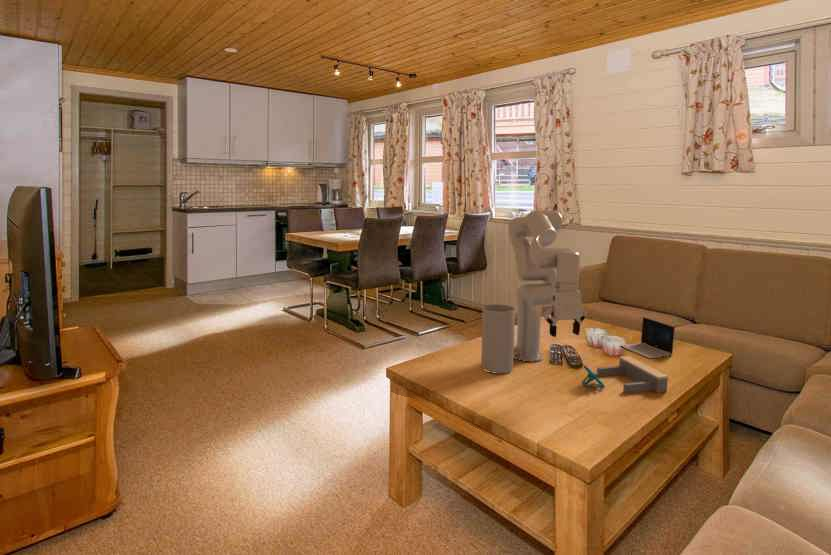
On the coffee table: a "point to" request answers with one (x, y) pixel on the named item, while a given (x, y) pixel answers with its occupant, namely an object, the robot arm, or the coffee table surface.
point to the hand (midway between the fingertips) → (564, 334)
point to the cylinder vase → (498, 338)
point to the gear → (591, 377)
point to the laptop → (654, 339)
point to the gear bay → (637, 375)
